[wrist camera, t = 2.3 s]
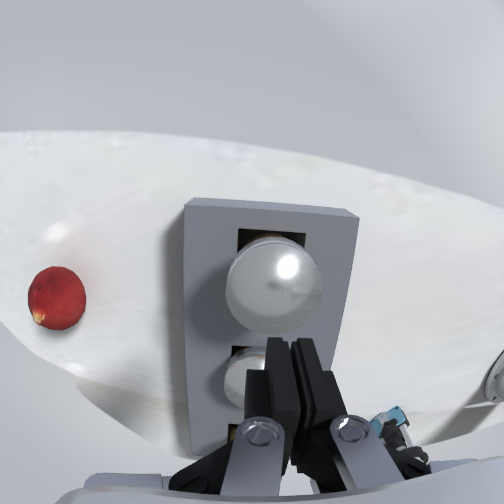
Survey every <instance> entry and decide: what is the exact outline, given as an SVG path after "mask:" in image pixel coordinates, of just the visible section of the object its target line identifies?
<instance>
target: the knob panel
mask: <svg viewBox="0 0 504 504" xmlns="http://www.w3.org/2000/svg"><path fill="white" fill-rule="evenodd" d="M359 219H360V218H359V217H357V216H356V215H354V214H352V213H351V212H349V211H347V210H346V209H339V208H329V207H319V206H308V205H296V204H284V203H272V202H258V201H244V200H228V199H211V198H193V199H191V200H190V201H189V202H187V203H186V204H185V205H184V246H183V296H184V339H185V364H186V383H187V399H188V414H189V426H190V438H191V449H192V455H197V456H207V455H209V454H210V453H212V452H214V451H215V450H217V449H219V448H220V447H222V446H223V445H225V444H227V443H228V442H230V435H231V432H232V430H233V429H234V428H235V427H229V424H240V423H241V422H242V421H244V409H242V408H240V407H238V406H236V405H235V404H233V403H232V402H231V401H230V400H229V399H228V397H227V396H226V394H225V390H224V381H225V372H226V366H227V364H228V362H229V360H230V359H231V358H232V345H236V346H252V347H256V346H264V347H266V346H267V338H268V337H282V338H283V341H288V344H289V349H291V343H292V341H297V338H312V339H313V342H314V345H315V348H316V351H317V354H318V357H319V360H320V363H321V366H322V369H323V371H326V370H330V369H331V365H332V361H333V357H334V353H335V348H336V344H337V340H338V335H339V331H340V326H341V322H342V317H343V312H344V307H345V302H346V297H347V292H348V287H349V281H350V276H351V270H352V264H353V258H354V252H355V246H356V239H357V233H358V226H359ZM239 228H244V229H259V230H273V231H287V232H297V239H296V243H297V244H299V245H300V246H302V247H303V248H304V249H305V250H306V251H307V252H308V253H309V255H310V256H311V258H312V259H313V261H314V263H315V265H316V266H317V268H318V270H319V272H320V274H321V277H322V282H323V296H322V300H321V303H320V306H319V308H318V309H317V311H316V313H315V314H314V316H313V317H312V318H311V319H310V320H309V321H308V322H307V323H306V324H304V325H303V326H301V327H300V328H298V329H296V330H294V331H291V332H289V333H285V334H279V335H267V334H261V333H257V332H254V331H252V330H250V329H248V328H246V327H245V326H243V325H242V324H241V323H240V322H238V321H237V319H236V318H235V317H234V316H233V314H232V313H231V311H230V309H229V307H228V304H227V300H226V283H227V277H228V272H229V268H230V265H231V263H232V261H233V259H234V257H235V256H236V255H237V253H238V238H239ZM289 460H291V459H290V457H289Z"/></svg>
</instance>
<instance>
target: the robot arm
mask: <svg viewBox="0 0 504 504" xmlns="http://www.w3.org/2000/svg"><path fill="white" fill-rule="evenodd" d="M485 394H486V397H487V398H488V399H489V401H490V402H493V403H499V402H502V401H503V402H504V352H503V353H502V355H501V356H500V357H499V359H498V360H497V362H496V363H495V365H494V367H493V368H492V370H491V372H490V374H489V377H488V379H487V382H486V386H485ZM289 457H290V459H291V465H293V466H294V465H296V466H297V473H304V474H305V475H307V476H308V477H310V478H311V479H310V483H311V487H312V490H313V492H314V494H313V495H298V496H279V490H280V481H281V477H282V476H283V475H284V474H285V471H286V468H287V464H288V461H289ZM55 504H504V456H497V457H490V458H485V459H481V460H476V459H463V460H450V461H436V462H435V461H434V462H429V463H428V465H426V464H425V463H424V462H422V461H420V460H418V459H416V458H414V457H412V456H409V455H407V454H405V453H403V452H401V451H398V450H396V449H394V448H392V447H390V446H388V445H386V444H384V443H382V442H381V440H380V438H379V437H378V435H377V433H376V432H375V430H374V429H373V427H372V425H371V424H370V423H369V422H368V421H367V420H365V419H364V418H362V417H359V416H356V415H348V414H347V411H346V408H345V405H344V402H343V400H342V397H341V394H340V391H339V388H338V385H337V383H336V380H335V377H334V374H333V372H332V371H331V370H326V371H323V369H322V366H321V363H320V360H319V357H318V354H317V351H316V348H315V345H314V342H313V339H312V338H297V341H292V343H291V349H289V344H288V341H283V338H282V337H268V338H267V346H266V355H265V363H264V370H257V369H247V371H246V382H245V399H244V421H242V422H241V423H240V424H239V426H238V428H237V430H236V434H235V438H234V439H233V440H231V441H230V442H228V443H227V444H225V445H223V446H222V447H220V448H219V449H217V450H215V451H214V452H212V453H210V454H209V455H207V456H205V457H203V458H202V459H200V460H198V461H196V462H195V463H193V464H192V465H189V466H188V467H186V468H184V469H182V470H180V471H179V472H177V473H176V474H175V475H173V476H163V477H162V476H161V474H119V473H96V474H94V475H92V476H90V477H89V478H88V479H87V480H86V481H85V484H84V488H79V489H76V490H73V491H70V492H68V493H66V494H65V495H63V496H62V497H61V498H60V499H59V500H58V501H57V502H56V503H55Z"/></svg>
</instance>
